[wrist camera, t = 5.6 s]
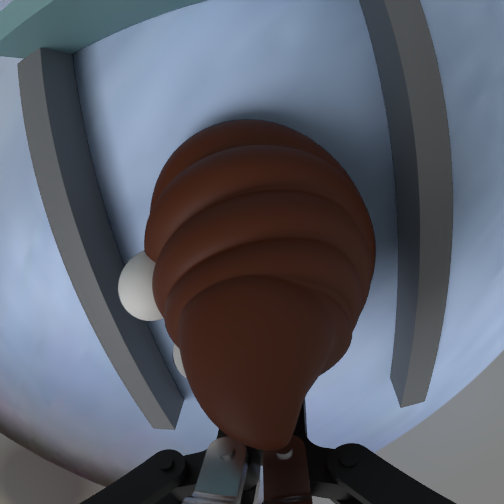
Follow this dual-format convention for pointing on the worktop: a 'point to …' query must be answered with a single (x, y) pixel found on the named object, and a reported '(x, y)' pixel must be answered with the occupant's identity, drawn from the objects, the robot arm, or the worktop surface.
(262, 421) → the poop emoji
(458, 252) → the worktop surface
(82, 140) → the channel
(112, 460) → the worktop surface
